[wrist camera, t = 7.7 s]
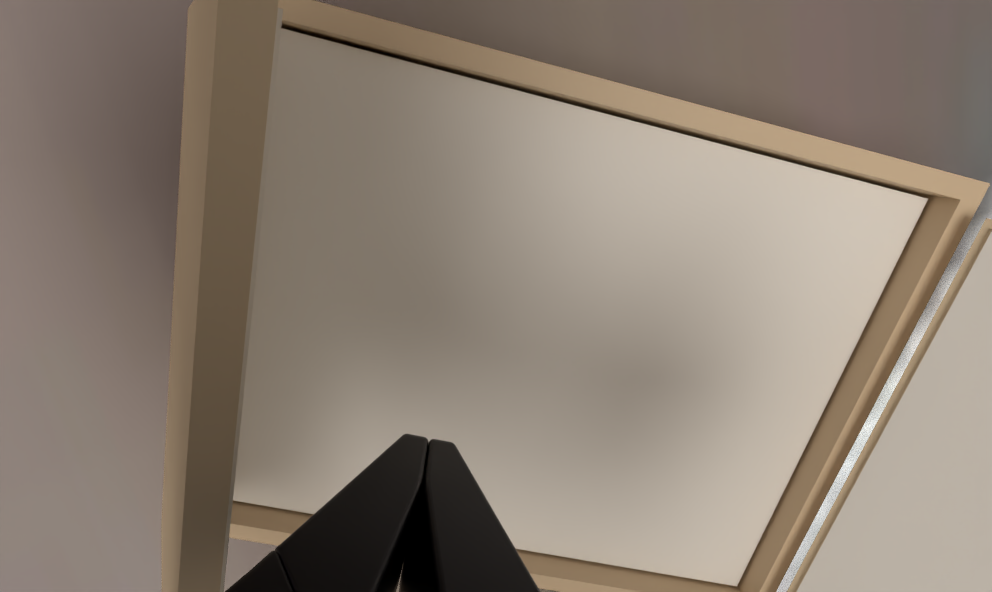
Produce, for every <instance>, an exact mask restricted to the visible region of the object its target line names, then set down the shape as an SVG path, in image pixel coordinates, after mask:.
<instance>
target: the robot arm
mask: <svg viewBox="0 0 992 592" xmlns="http://www.w3.org/2000/svg"><path fill="white" fill-rule="evenodd" d="M402 566H403V567H402ZM401 570H402V573H401ZM400 574H401V579H400ZM399 579H400V588H399V592H540V590H539V588H538V587H537V585H536V583H535V582H534V580H533V578H532V576H531V575H530V573H529V571H528V569H527V568H526V566H525V564H524V563H523V561H522V559H521V557H520V556H519V554H518V552H517V550H516V549H515V547H514V545H513V544H512V542H511V540H510V538H509V537H508V535H507V533H506V532H505V530H504V528H503V526H502V525H501V523H500V521H499V519H498V518H497V516H496V514H495V513H494V511H493V509H492V507H491V506H490V504H489V502H488V500H487V499H486V497H485V495H484V494H483V492H482V490H481V488H480V487H479V485H478V483H477V481H476V480H475V478H474V476H473V475H472V473H471V471H470V469H469V468H468V466H467V464H466V463H465V461H464V459H463V457H462V456H461V454H460V452H459V450H458V449H457V447H456V445H455V444H454V443H452V442H448V441H443V440H438V439H431V440H430V441H429V443H428V439H427V438H426V437H422V436H417V435H412V434H404V435H402V436H401V437H400V438H399V439H398V440H397V441H396V442H394V443H393V444H392V445H391V446H390V447H389V448H388V449H387V450H385V451H384V452H383V453H382V454H381V455H380V456H379V457H378V458H376V459H375V460H374V461H373V462H372V463H371V464H370V465H369V466H367V467H366V468H365V469H364V470H363V471H362V472H361V473H360V474H358V475H357V476H356V477H355V478H354V479H353V480H352V481H351V482H349V483H348V484H347V485H346V486H345V487H344V488H343V489H342V490H340V491H339V492H338V493H337V494H336V495H335V496H334V497H333V498H332V499H330V500H329V501H328V502H327V503H326V504H325V505H324V506H323V507H321V508H320V509H319V510H318V511H317V512H316V513H315V514H314V515H312V516H311V517H310V518H309V519H308V520H307V521H306V522H305V523H303V524H302V525H301V526H300V527H299V528H298V529H297V530H296V531H294V532H293V533H292V534H291V535H290V536H289V537H288V538H287V539H285V540H284V541H283V542H282V543H281V544H280V545H279V546H278V547H277V548H276V549H275V551H272V552H270V553H269V554H268V555H267V556H266V557H265V558H264V559H263V560H261V561H260V562H259V563H258V564H257V565H256V566H255V567H254V568H253V569H251V570H250V571H249V572H248V573H247V574H246V575H244V576H243V577H242V578H241V579H240V580H238V581H237V582H236V583H235V584H234V585H232V586H231V587H230V588H229V589H228V590H226V591H225V592H396V589H397V586H398V582H399Z"/></svg>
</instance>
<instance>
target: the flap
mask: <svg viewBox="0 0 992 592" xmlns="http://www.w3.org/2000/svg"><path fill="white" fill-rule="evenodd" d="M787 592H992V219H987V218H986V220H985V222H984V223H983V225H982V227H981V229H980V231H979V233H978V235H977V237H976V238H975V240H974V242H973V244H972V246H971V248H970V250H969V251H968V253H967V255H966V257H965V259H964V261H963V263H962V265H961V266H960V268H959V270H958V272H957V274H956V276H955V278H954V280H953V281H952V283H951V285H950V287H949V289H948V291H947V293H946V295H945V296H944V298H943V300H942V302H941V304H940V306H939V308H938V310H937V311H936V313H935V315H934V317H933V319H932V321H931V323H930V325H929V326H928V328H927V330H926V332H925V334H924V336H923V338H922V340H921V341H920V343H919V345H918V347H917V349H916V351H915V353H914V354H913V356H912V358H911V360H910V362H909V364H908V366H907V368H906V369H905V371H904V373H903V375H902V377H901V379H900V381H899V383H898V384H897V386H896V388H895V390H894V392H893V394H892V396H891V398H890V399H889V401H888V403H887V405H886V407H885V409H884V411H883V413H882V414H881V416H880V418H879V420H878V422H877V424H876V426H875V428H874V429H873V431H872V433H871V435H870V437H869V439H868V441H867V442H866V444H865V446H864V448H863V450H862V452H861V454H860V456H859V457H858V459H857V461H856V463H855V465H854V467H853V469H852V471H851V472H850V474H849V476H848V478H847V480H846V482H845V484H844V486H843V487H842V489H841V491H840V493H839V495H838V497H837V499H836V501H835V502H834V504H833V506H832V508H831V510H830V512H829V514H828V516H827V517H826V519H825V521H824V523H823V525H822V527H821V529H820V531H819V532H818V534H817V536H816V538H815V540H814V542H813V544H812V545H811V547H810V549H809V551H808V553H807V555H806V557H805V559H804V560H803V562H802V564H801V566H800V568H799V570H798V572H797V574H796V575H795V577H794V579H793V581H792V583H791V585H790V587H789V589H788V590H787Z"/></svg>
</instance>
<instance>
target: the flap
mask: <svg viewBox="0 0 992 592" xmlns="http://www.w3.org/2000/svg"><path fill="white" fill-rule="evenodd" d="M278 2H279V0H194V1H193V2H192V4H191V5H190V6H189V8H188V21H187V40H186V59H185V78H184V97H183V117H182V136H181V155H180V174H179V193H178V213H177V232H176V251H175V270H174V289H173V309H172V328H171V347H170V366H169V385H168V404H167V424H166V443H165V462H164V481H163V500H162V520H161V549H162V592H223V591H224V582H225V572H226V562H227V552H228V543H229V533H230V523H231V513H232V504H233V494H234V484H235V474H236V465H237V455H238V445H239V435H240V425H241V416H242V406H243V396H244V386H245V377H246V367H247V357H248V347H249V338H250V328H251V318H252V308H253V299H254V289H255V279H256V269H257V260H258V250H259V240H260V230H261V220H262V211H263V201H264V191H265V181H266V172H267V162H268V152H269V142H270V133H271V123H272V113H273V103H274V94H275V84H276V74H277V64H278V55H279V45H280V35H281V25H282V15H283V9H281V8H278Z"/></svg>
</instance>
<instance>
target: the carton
mask: <svg viewBox="0 0 992 592" xmlns="http://www.w3.org/2000/svg"><path fill="white" fill-rule="evenodd" d="M278 8H281V9H283V15H282V25H281V35H280V45H279V55H278V64H277V74H276V84H275V94H274V103H273V113H272V123H271V133H270V142H269V152H268V162H267V172H266V181H265V191H264V201H263V211H262V220H261V230H260V240H259V250H258V260H257V269H256V279H255V289H254V299H253V308H252V318H251V328H250V338H249V347H248V357H247V367H246V377H245V386H244V396H243V406H242V416H241V425H240V435H239V445H238V455H237V465H236V474H235V484H234V494H233V504H232V513H231V523H230V533H229V538H234V539H241V540H247V541H253V542H259V543H265V544H271V545H277V546H279V545H280V544H281V543H282V542H283V541H284V540H285V539H287V538H288V537H289V536H290V535H291V534H292V533H293V532H294V531H296V530H297V529H298V528H299V527H300V526H301V525H302V524H303V523H305V522H306V521H307V520H308V519H309V518H310V517H311V516H312V515H314V514H315V513H316V512H317V511H318V510H319V509H320V508H321V507H323V506H324V505H325V504H326V503H327V502H328V501H329V500H330V499H332V498H333V497H334V496H335V495H336V494H337V493H338V492H339V491H340V490H342V489H343V488H344V487H345V486H346V485H347V484H348V483H349V482H351V481H352V480H353V479H354V478H355V477H356V476H357V475H358V474H360V473H361V472H362V471H363V470H364V469H365V468H366V467H367V466H369V465H370V464H371V463H372V462H373V461H374V460H375V459H376V458H378V457H379V456H380V455H381V454H382V453H383V452H384V451H385V450H387V449H388V448H389V447H390V446H391V445H392V444H393V443H394V442H396V441H397V440H398V439H399V438H400V437H401V436H402V435H404V434H412V435H417V436H422V437H426V438H427V439H428V443H429V441H430V440H431V439H438V440H443V441H448V442H452V443H454V444H455V445H456V447H457V449H458V450H459V452H460V454H461V456H462V457H463V459H464V461H465V463H466V464H467V466H468V468H469V469H470V471H471V473H472V475H473V476H474V478H475V480H476V481H477V483H478V485H479V487H480V488H481V490H482V492H483V494H484V495H485V497H486V499H487V500H488V502H489V504H490V506H491V507H492V509H493V511H494V513H495V514H496V516H497V518H498V519H499V521H500V523H501V525H502V526H503V528H504V530H505V532H506V533H507V535H508V537H509V538H510V540H511V542H512V544H513V545H514V547H515V549H516V550H517V552H518V554H519V556H520V557H521V559H522V561H523V563H524V564H525V566H526V568H527V569H528V571H529V573H530V575H531V576H532V578H533V580H534V582H535V583H536V585H537V587H538V588H541V589H547V590H553V591H559V592H776V590H777V589H778V587H779V585H780V583H781V581H782V579H783V577H784V575H785V573H786V571H787V570H788V568H789V566H790V564H791V562H792V560H793V558H794V556H795V554H796V552H797V550H798V549H799V547H800V545H801V543H802V541H803V539H804V537H805V535H806V533H807V531H808V530H809V528H810V526H811V524H812V522H813V520H814V518H815V516H816V514H817V512H818V511H819V509H820V507H821V505H822V503H823V501H824V499H825V497H826V495H827V493H828V492H829V490H830V488H831V486H832V484H833V482H834V480H835V478H836V476H837V474H838V472H839V471H840V469H841V467H842V465H843V463H844V461H845V459H846V457H847V455H848V453H849V452H850V450H851V448H852V446H853V444H854V442H855V440H856V438H857V436H858V434H859V433H860V431H861V429H862V427H863V425H864V423H865V421H866V419H867V417H868V415H869V414H870V412H871V410H872V408H873V406H874V404H875V402H876V400H877V398H878V396H879V394H880V393H881V391H882V389H883V387H884V385H885V383H886V381H887V379H888V377H889V375H890V374H891V372H892V370H893V368H894V366H895V364H896V362H897V360H898V358H899V356H900V355H901V353H902V351H903V349H904V347H905V345H906V343H907V341H908V339H909V337H910V335H911V334H912V332H913V330H914V328H915V326H916V324H917V322H918V320H919V318H920V316H921V315H922V313H923V311H924V309H925V307H926V305H927V303H928V301H929V299H930V297H931V296H932V294H933V292H934V290H935V288H936V286H937V284H938V282H939V280H940V278H941V277H942V275H943V273H944V271H945V269H946V267H947V265H948V263H949V261H950V259H951V257H952V256H953V254H954V252H955V250H956V248H957V246H958V244H959V242H960V240H961V238H962V237H963V235H964V233H965V231H966V229H967V227H968V225H969V223H970V221H971V219H972V218H973V216H974V214H975V212H976V210H977V208H978V206H979V204H980V202H981V200H982V199H983V197H984V195H985V193H986V191H987V189H988V187H989V185H990V184H989V183H986V182H982V181H978V180H975V179H971V178H967V177H964V176H960V175H956V174H953V173H949V172H945V171H941V170H938V169H934V168H930V167H927V166H923V165H919V164H916V163H912V162H908V161H905V160H901V159H897V158H893V157H890V156H886V155H882V154H879V153H875V152H871V151H868V150H864V149H860V148H857V147H853V146H849V145H846V144H842V143H838V142H834V141H831V140H827V139H823V138H820V137H816V136H812V135H809V134H805V133H801V132H798V131H794V130H790V129H786V128H783V127H779V126H775V125H772V124H768V123H764V122H761V121H757V120H753V119H750V118H746V117H742V116H739V115H735V114H731V113H727V112H724V111H720V110H716V109H713V108H709V107H705V106H702V105H698V104H694V103H691V102H687V101H683V100H679V99H676V98H672V97H668V96H665V95H661V94H657V93H654V92H650V91H646V90H643V89H639V88H635V87H632V86H628V85H624V84H620V83H617V82H613V81H609V80H606V79H602V78H598V77H595V76H591V75H587V74H584V73H580V72H576V71H572V70H569V69H565V68H561V67H558V66H554V65H550V64H547V63H543V62H539V61H536V60H532V59H528V58H525V57H521V56H517V55H513V54H510V53H506V52H502V51H499V50H495V49H491V48H488V47H484V46H480V45H477V44H473V43H469V42H465V41H462V40H458V39H454V38H451V37H447V36H443V35H440V34H436V33H432V32H429V31H425V30H421V29H417V28H414V27H410V26H406V25H403V24H399V23H395V22H392V21H388V20H384V19H381V18H377V17H373V16H370V15H366V14H362V13H358V12H355V11H351V10H347V9H344V8H340V7H336V6H333V5H329V4H325V3H322V2H318V1H314V0H279V2H278Z"/></svg>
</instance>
